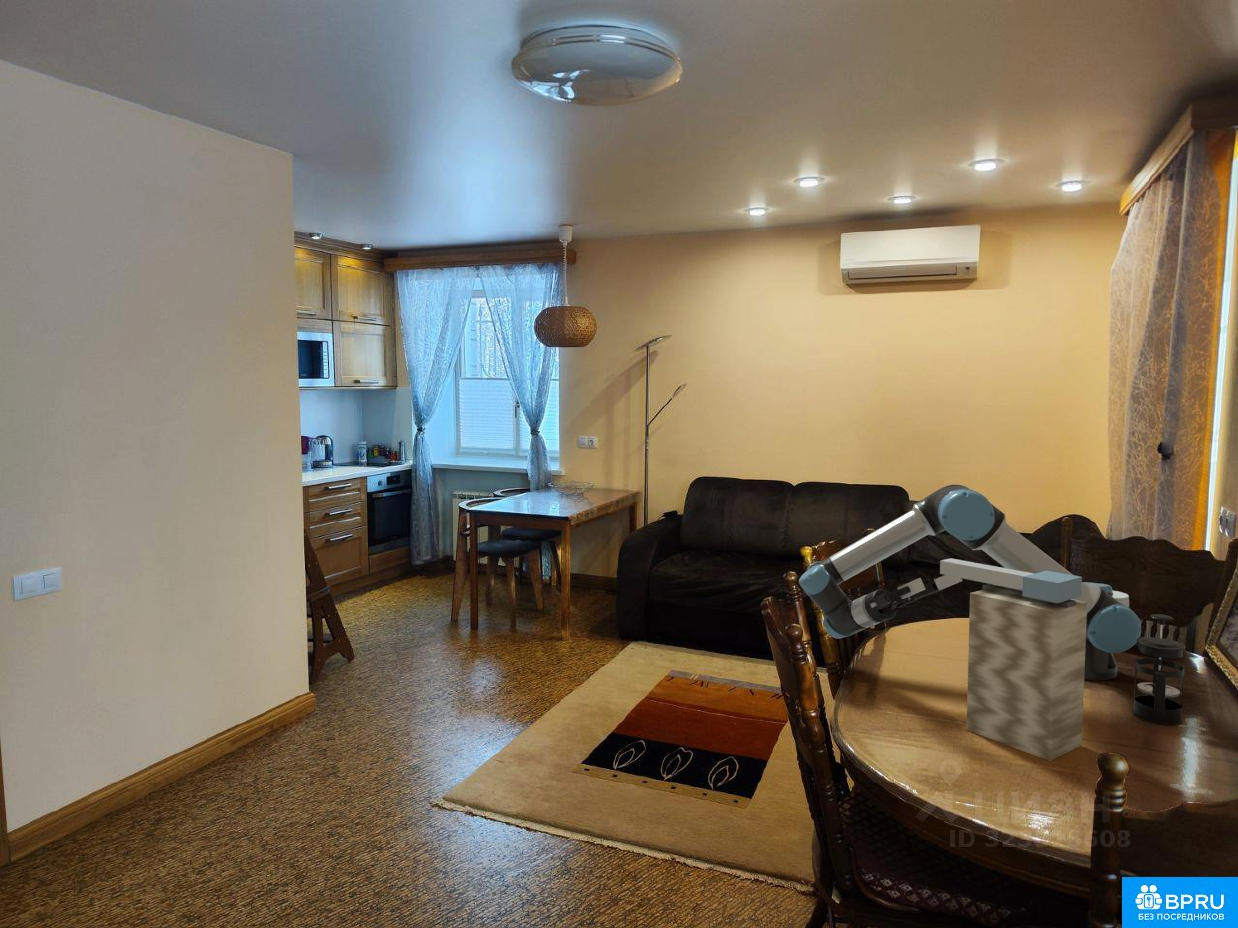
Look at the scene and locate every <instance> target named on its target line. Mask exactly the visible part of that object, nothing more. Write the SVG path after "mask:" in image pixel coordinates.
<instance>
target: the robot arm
mask: <svg viewBox="0 0 1238 928" xmlns="http://www.w3.org/2000/svg"><path fill="white" fill-rule="evenodd" d="M944 531H946V532H947V533H948V534H949V535H951V536H952V537H955V538H956V539H957V540H958V541H960V542H961V543H963V544H964V545H965V546H966V547H968V548H969V549H971V550H972V551H979V550H980V551H981V550H982V551H983V552H985V553H986V554H987V555H988V556H989V557H991V558H992V559H993V560H995V561H996V562H997V563H999V564H1000V565H1001V566H1002V567H1003V568H1007V569H1012V570H1018V571H1023V572H1029V573H1034V574H1035V573H1040V572H1044V571H1052V572H1057V573H1063V574H1069V575H1074V574H1073V573H1071V572H1070V571H1069V570H1067V569H1066V568H1065V567H1063V566H1062V564H1059V563H1058V562H1057V561H1056V560H1054V559H1053V558H1052V557H1051V556H1049V555H1048V554H1047V553H1045V552H1044V551H1043V550H1041V549H1040V548H1039V547H1038V546H1037V545H1035V544H1034V543H1032V541H1030V540H1029V539H1027V538H1026V537H1025V536H1023V535H1022V534H1021V533H1019V531H1017V530H1016V529H1014V528H1013V527H1012V526H1011V525H1010V524H1008V523H1007V519H1006V514H1005V513H1004V512H1003V511H1001V510H1000V509H999V508H998V507H996V506H995V505H994V504H992V503H991V502H990V501H989V499H988V497H986V496H984V495H983V494H982V493H981V492H978V491H976V490H974V489H970V488H969V487H967V486H966V485H961V484H949V485H945V486H943V487H940V488H939V489H937V490H936V491H934V492H932V493H931V494H929V495H927V496H925V497H924V498H923V499H921V500H919V501H917V502H916V503H914V504H913V507H912V509H911V510H910V511H908V512H906V513H905V514H903V515H901V516H899V517H897V518H895V519H893V520H892V521H891V522H888V523H887V524H885V525H883V526H882V527H880V528H878V529H876V530H874V531H872V532H871V533H869V534H867V535H866V536H864V537H862V538H860V539H859V540H857V541H855V542H854V543H852V544H850V545H848V546H846V547H845V548H843V549H841V550H839V551H838V552H836V553H834V554H832V555H830V556H829V557H828V558H825V559H824V560H821V561H815V562H812V563H811V564H810V565H809V566H808V568H807V569H806V571H805V572H804V573H803V574H802V575H801V576H800V578H799V579H798V583H799V585H800V587H801V589H803V592H804V593H805V594H806V595H808V597H809V598H810V599H811V600H812V602H814V604H815V605H816V606H817V607H818V608H819V610H820V611H821V612H822V613H823V615H824V616H823V620H822V624H823V626H824V629H825V631H826V633H827V635H829V636H830V637H832V638H834V639H843V638H847V637H851V636H853V635H854V634H857V633H859V632H862V631H864V630H866V629H869V628H870V629H872V630H873V629H875V628H876V627H875V625H878V624H880V623H883V622H886V621H889V620H891V619H893V618H894V617H895V616H896V614H897V611H898V610H897V609H898V608H902V607H904V606H906V605H907V604H910V603H913V602H915V601H916V600H919V599H921V598H924V597H928V596H930V595H932V594H936V593H938V592H941V591H945V589H946V588H949V587H951V586H953V585H956V584H959V583H960V582H963V578H959V577H954V576H949V575H944V574H943V575H942V576H939V577H937V576H934V578H933V581H929V582H926V583H923V580H922V578H921V577H919V578H916V579H914V580H911V581H910V582H907V583H904V584H902V585H900V586H898V587H896V588H897V589H896V588H893V589H891V590H890V591H889V590H885V589H880V588H878V589H876V590H874V591H872V592H870V593H868V594H865V595H862V596H859V597H858V598H856V599H854V600H851V599H850V598H849V597H848V595H847V594H846V593H845V592H844V591H843V590H842V589H841V587H840V585H841V584H842V583H844V582H845V581H847V580H849V579H851V578H852V577H854V576H856V575H858V574H859V573H861V572H863V571H865V570H867V569H869V568H870V567H872V566H874V565H876V564H877V563H880V562H881V561H883V560H885V559H887V558H889V557H890V556H892V555H894V554H896V553H898V552H900V551H901V550H903V549H905V548H907V547H908V546H910V545H912V544H914V543H915V542H918V541H919V540H921V539H923V538H924V537H926V536H928V535H929V536H936V535H938V534H940V533H942V532H944ZM1112 591H1113V587H1112V586H1111V585H1109V584H1106V583H1105V584H1104V583H1097V582H1089V581H1088V582H1085V581H1084V582H1083V581H1082V585H1081V597H1077V598H1074V600H1079V601H1084V602H1087V621H1086V646H1085V672H1084V680H1090V681H1106V680H1107V681H1108V680H1112V679H1115V678H1117V676H1118V665H1117V664H1118V663H1117V661H1116V659H1115V656H1114V654H1117V653H1123V652H1125V651H1128V650H1129V649H1131V648H1133V646H1134V645H1136V644H1137V639H1138V638H1141V634H1142V623H1141V621H1140V618H1139V616H1138V615H1137V614H1136V613H1135V611H1133V610H1132V609H1131V608H1130V606H1129V607H1126V606H1124V605H1122V604H1121V603H1120V602H1118V601H1117V600H1116V599H1114V598H1113V597H1112V596H1113V592H1112Z"/></svg>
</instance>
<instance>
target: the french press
mask: <svg viewBox="0 0 1238 928" xmlns="http://www.w3.org/2000/svg"><path fill="white" fill-rule="evenodd" d="M1150 618H1151V619H1155V620H1158V624H1159V625H1160V627H1159V630H1160V631H1159V637H1157V636H1155V637H1154V636H1142V637H1141V636H1140V637H1139V638H1138V639H1137V642H1136V644H1138V651H1139V652H1140V653H1141V654H1144V655H1147V656H1151V657H1141V658H1137V659H1135V663H1134V664H1135V667H1134V688H1133V689H1134V690H1133V709H1132V710H1131V713H1132V716H1133V717H1136V718H1137V719H1138V720H1141V721H1143V722H1147V723H1151V724H1155V725H1159V726H1171V727H1172V726H1179V725H1182V724H1183V723H1184V719H1183V707H1184V706H1183V705H1184V704H1183V703H1184V687H1185V686H1184V685H1185V684H1184V683H1185V667H1184V665H1182V664H1180V663H1178V662H1175V661H1173V660H1172V661H1171V660H1168V659H1180V658H1182V657H1183V653H1184V651H1183V650H1185V649H1186V648H1187V647H1186V645H1185V644H1184V643H1182V642H1180V641H1176V640H1174V639H1171V638H1170V639H1169V638H1165V637H1163V626H1165V621H1173V620H1174V618H1173V617H1172V616H1169V615H1167V614H1166V615H1165V614H1160V613H1158V614H1157V613H1156V614H1151V615H1150ZM1154 657H1155V658H1154ZM1145 665H1153V668H1150V667H1146V666H1145ZM1164 667H1168V668H1173V669H1175V670H1176V671H1175V670H1174V671H1173V670H1172V671H1171V670H1164ZM1138 671H1140V672H1142V673H1144V674H1148V675H1151V676H1152V682H1145V681H1144V682H1139V683H1138V682H1137V676H1138V675H1137V673H1138ZM1167 678H1181V690H1180V689H1179V688H1176V687H1174V686H1172V685H1168V684H1167ZM1137 691H1138V692H1139V693H1142V694H1141V695H1137ZM1179 698H1180V702H1178V701H1176V700H1174V699H1179Z"/></svg>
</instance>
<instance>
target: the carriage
mask: <svg viewBox="0 0 1238 928" xmlns="http://www.w3.org/2000/svg"><path fill="white" fill-rule="evenodd" d="M939 562H940V564H939V574H941V575H943V576H944V575H949V576H954V577H959V578H961V579H964V580H968V581H974V582H979V583H983V584H984V583H985V584H993V585H998V586H1003V587H1008V588H1013V589H1018V590H1022V596H1025V597H1029V598H1034V599H1039V600H1044V601H1049V602H1053V603H1060V602H1064V601H1067V600H1070V599H1074V598H1077V597H1081V585H1082V582H1083V581H1082V579H1083V577H1082V576H1079V575H1074V574H1073V575H1069V574H1063V573H1057V572H1052V571H1044V572H1040V573H1035V574H1034V573H1029V572H1023V571H1018V570H1012V569H1007V568H1005V567H999V566H995V565H990V564H984V563H977V562H973V561H968V560H962V559H958V558H957V559H956V558H951V557H950V558H946V559H942V560H940V561H939Z"/></svg>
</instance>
